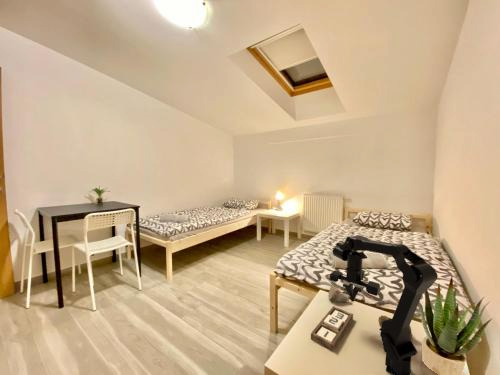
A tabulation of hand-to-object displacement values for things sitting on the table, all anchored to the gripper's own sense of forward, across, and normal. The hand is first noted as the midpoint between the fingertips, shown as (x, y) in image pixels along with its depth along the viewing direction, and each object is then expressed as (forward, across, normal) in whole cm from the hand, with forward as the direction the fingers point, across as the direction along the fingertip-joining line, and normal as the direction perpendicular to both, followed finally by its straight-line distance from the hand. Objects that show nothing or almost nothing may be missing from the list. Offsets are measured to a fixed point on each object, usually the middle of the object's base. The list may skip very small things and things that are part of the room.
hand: (352, 301), depth 92 cm
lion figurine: (+13, -15, -7) cm, 21 cm away
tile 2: (+11, +6, +5) cm, 13 cm away
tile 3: (+12, +6, -3) cm, 14 cm away
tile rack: (+12, +6, +5) cm, 15 cm away
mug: (+13, +12, -18) cm, 25 cm away
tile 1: (+12, +6, +13) cm, 18 cm away
